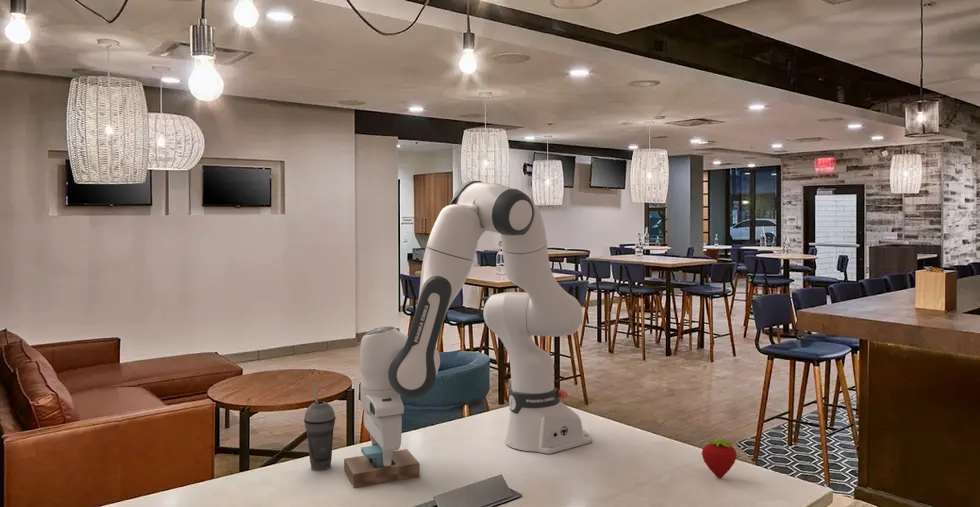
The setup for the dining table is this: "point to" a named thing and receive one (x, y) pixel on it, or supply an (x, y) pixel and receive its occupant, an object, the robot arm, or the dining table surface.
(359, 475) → the well block
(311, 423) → the beverage cup
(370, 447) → the bracket
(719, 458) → the strawberry
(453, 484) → the dining table surface
